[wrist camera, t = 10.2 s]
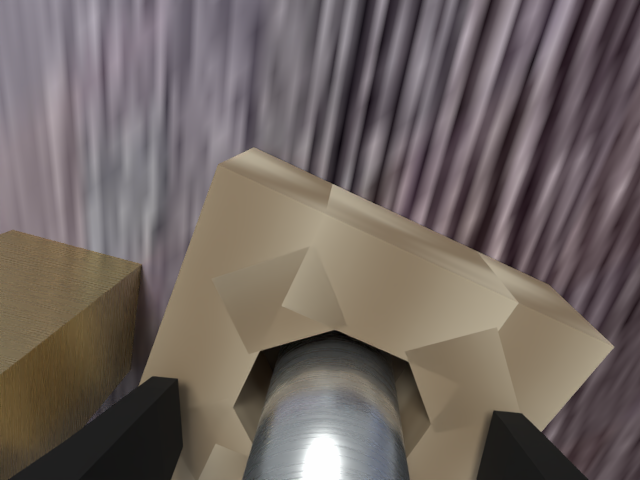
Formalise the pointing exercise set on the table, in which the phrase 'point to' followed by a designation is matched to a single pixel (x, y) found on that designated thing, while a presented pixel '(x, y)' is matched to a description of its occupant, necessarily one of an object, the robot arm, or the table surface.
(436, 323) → the socket block
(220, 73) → the table surface
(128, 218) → the table surface
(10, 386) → the square bit
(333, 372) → the round peg
